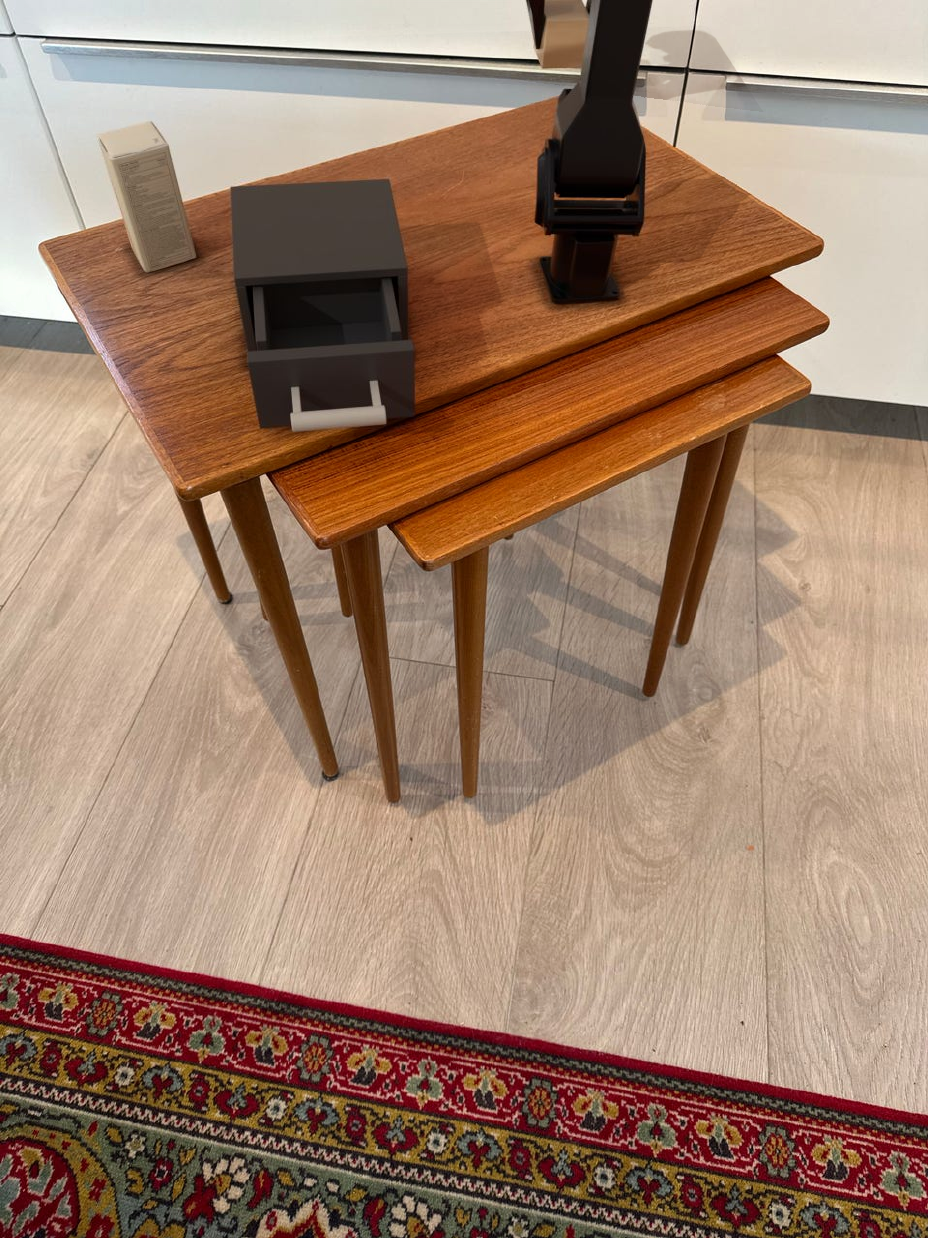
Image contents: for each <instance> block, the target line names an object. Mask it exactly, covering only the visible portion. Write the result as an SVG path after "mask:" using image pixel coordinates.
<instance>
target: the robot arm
mask: <svg viewBox="0 0 928 1238" xmlns="http://www.w3.org/2000/svg"><path fill="white" fill-rule="evenodd" d="M653 1H654V0H586V3H585V7H586V9H587V11H588V13H589V22H588V29H587V35H586V42H585V49H584V55H583V62H582V67H581V69H580V76H579V79H578V82H577V83H576V84H575V85H574V87H573V88H563V89H562V91H561V92H560V94H559V96H558V98H557V102H556V109H555V115H554V121H553V127H552V134H551V137H546V138H545V141H544V146H543V147H542V149H541V153H540V154H539V155H538V156H537V159H536V188H535V189H536V190H535V192H536V193H535V195H536V197H535V209H534V217H533V220H534V224H536V225H538V226H539V227H540V228H543V232H544V233H543V234H544V236H552V235H553V241H552V248H551V256H541V257H540V258H539V259H538V265H539V268H540V272H541V274H542V277H543V281H544V284H545V286H546V289H547V293H548V295H549V298H550V301H551V303H553V304H556V305H559V304H574V303H588V302H590V303H591V302H602V301H603V302H605V301H615V300H616V301H617V300H619V299H620V295H621V292H620V289H619V286H618V284H617V281H616V279H615V277H614V274H613V271H612V270H613V264H614V259H615V255H616V250H617V245H618V239H619V236H632V237H639V236H640V234H641V231H642V229H643V226H644V223H645V204H646V203H645V202H646V200H645V199H646V169H647V167H646V165H647V147H646V142H645V137H644V133H643V129H642V124H641V122H640V118H639V115H638V113H639V112H638V110H637V107H636V103H635V102H634V95H635V91H636V86H637V80H638V76H639V71H640V66H641V60H642V55H643V50H644V46H645V40H646V36H647V31H648V26H649V21H650V16H651V11H652V7H653ZM525 3H526V9H527V13H528V18H529V19H528V20H529V25H530V30H531V33H532V34H531V35H532V39H533V46H534V45H535V48H536V49H540V46H541V41H542V36H543V23H544V7H545V0H525ZM555 195H556V196H555ZM555 197H557V198H559V199H555ZM561 198H563V199H561ZM616 199H617V200H616ZM618 199H620V200H618ZM621 199H622V200H621Z"/></svg>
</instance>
